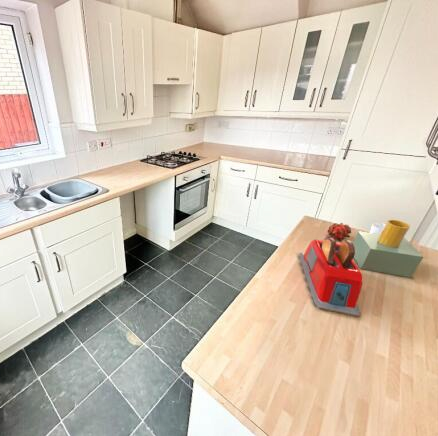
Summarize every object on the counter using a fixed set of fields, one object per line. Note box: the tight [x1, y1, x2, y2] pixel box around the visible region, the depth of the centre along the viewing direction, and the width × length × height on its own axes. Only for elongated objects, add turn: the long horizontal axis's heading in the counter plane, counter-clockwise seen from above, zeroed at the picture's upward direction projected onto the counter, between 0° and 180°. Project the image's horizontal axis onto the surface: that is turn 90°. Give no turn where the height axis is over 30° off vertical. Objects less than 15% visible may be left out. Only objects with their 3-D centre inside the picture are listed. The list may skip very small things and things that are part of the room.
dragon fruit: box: [327, 222, 352, 241], centre depth 118 cm, size 8×8×12 cm
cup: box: [378, 219, 411, 247], centre depth 96 cm, size 6×6×9 cm
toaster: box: [298, 237, 363, 317], centre depth 89 cm, size 32×13×19 cm, turn 161°
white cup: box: [368, 222, 386, 234], centre depth 111 cm, size 8×8×10 cm
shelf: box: [352, 230, 425, 278], centre depth 100 cm, size 16×14×10 cm
